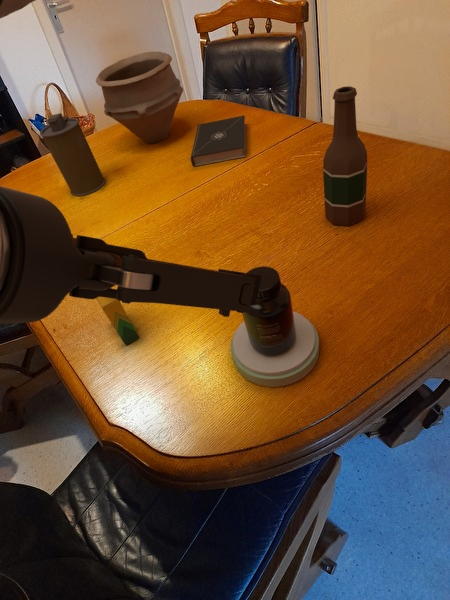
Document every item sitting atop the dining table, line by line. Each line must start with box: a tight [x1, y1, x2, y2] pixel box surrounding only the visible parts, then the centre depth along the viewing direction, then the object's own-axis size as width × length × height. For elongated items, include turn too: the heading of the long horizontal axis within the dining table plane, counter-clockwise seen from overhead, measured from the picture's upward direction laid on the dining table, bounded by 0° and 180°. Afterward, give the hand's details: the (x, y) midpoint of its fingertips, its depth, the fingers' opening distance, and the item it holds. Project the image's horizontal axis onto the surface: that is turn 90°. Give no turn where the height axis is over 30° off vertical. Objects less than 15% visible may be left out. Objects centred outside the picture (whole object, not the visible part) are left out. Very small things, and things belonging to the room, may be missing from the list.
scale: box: [230, 310, 320, 388], centre depth 60 cm, size 13×13×3 cm
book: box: [190, 115, 247, 168], centre depth 116 cm, size 22×15×3 cm
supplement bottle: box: [241, 265, 296, 356], centre depth 55 cm, size 7×7×12 cm
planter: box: [95, 51, 184, 144], centre depth 124 cm, size 25×24×22 cm
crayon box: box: [95, 297, 141, 347], centre depth 67 cm, size 7×3×12 cm, turn 32°
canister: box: [39, 112, 106, 197], centre depth 110 cm, size 11×10×20 cm
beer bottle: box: [322, 85, 368, 227], centre depth 73 cm, size 8×8×24 cm
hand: (193, 276), depth 40 cm, fingers open, 13 cm apart
